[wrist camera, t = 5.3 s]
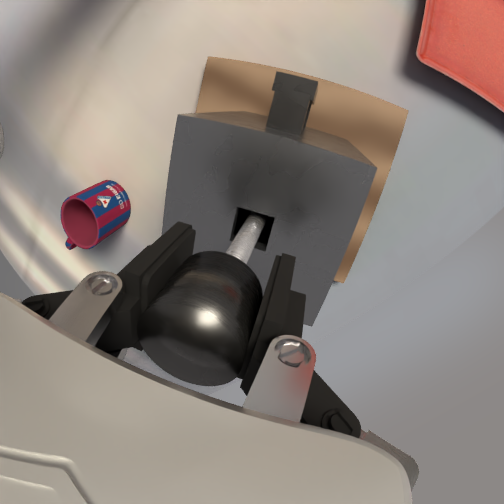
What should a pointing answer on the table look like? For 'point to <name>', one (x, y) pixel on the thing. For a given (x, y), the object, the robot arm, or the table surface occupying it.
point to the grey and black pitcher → (1, 140)
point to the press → (270, 186)
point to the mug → (94, 214)
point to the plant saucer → (466, 44)
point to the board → (315, 122)
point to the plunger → (206, 312)
